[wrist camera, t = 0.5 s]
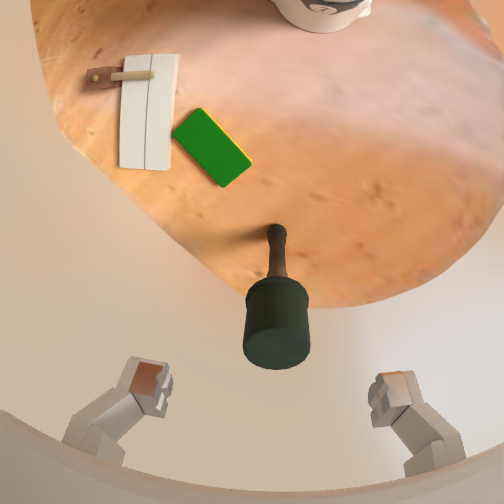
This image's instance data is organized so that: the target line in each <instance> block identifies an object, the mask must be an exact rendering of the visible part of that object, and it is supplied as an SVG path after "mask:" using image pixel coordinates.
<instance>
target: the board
mask: <svg viewBox="0 0 504 504" xmlns="http://www.w3.org/2000/svg"><path fill="white" fill-rule="evenodd" d="M179 57H180V54H177V53H168V54H147V55H133V56H125V62H124V71H123V72H129V71H145V70H153V71H154V79H132V80H123V82H122V95H121V113H120V167H121V168H136V169H149V170H161V171H167V170H169V169H170V160H171V141H172V126H173V113H174V101H175V91H176V82H177V73H178V65H179Z"/></svg>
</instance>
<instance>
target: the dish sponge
mask: <svg viewBox="0 0 504 504" xmlns="http://www.w3.org/2000/svg"><path fill="white" fill-rule="evenodd" d="M172 136H173V137H174V138H175V139H176V140H177V141H178V142H179V143H180V144H181V145H182V146H183V147H184V148H185V149H186V150H187V151H188V152H189V153H190V154H191V156H192V157H193V158H194V159H195V160H196V161H197V162H198V163H199V164H200V165H201V166H202V167H203V168H204V169H205V170H206V171H207V172H208V174H209V175H210V176H211V177H212V178H213V179H214V180H215V181H216V182H217V183H218V184H219V185H220V186H221V187H222V188H224V187H226V186H227V185H228V184H229V183H230V182H232V181H233V180H234V179H235V178H237V177H238V176H239V175H240V174H242V173H243V172H244V171H245V170H246V169H248V168H249V167H250V166H251V165H252V160H251V159H250V158H249V156H248V155H247V154H246V153H245V152H244V151H243V150H242V149H241V148H240V146H239V145H238V144H237V143H236V142H235V141H234V140H233V139H232V138H231V137H230V135H229V134H228V133H227V132H226V131H225V130H224V129H223V128H222V127H221V126H220V125H219V124H218V123H217V121H216V120H215V119H214V118H213V117H212V116H211V115H210V114H209V113H208V112H207V111H206V110H205V109H204V108H198V109H197V110H196V111H195V112H194V113H193V114H191V115H190V116H189V117H188V118H187V119H186V120H185V121H184V122H183V123H182V124H181V125H180V126H179V127H178V128H177V129H176V130H175V131H174V132H173V133H172Z"/></svg>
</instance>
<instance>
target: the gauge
mask: <svg viewBox="0 0 504 504" xmlns="http://www.w3.org/2000/svg"><path fill="white" fill-rule="evenodd" d="M132 79H154V71H153V70H145V71H129V72H122V67H111V66H109V67H101V68H93V69H87V76H86V90H88V89H98V88H110V87H121V80H132Z"/></svg>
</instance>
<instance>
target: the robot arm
mask: <svg viewBox="0 0 504 504" xmlns="http://www.w3.org/2000/svg"><path fill="white" fill-rule="evenodd" d="M271 1H272V2H274V4H275V5H276V6H277V8H278V9H279V11H280V13H281V14H282V15H283V16H284V17H285V18H286V19H287V20H288V21H289V22H291V23H292V24H294V25H295V26H297V27H299V28H301V29H304V30H307V31H311V32H316V33H331V32H336V31H339V30H341V29H343V28H345V27H347V26H348V25H349V24H350V23H352V22H353V21H354V20H356V19H361V18H365V17H367V16H368V15H369V14H370V3H371V1H372V0H271ZM168 370H169V366H168V363H165V362H159V361H154V360H148V359H144V358H139V357H133V356H131V357H130V358H129V359H128V361H127V363H126V365H125V368H124V370H123V372H122V374H121V377H120V379H119V382H118V384H117V386H116V388H112V389H110V390H109V391H107V392H106V393H104V394H103V395H102V396H100V397H99V398H97V399H96V400H94V401H93V402H92V403H90V404H89V405H87V406H86V407H84V408H83V409H81V410H80V411H79V412H77V413H76V414H74V415H73V416H72V418H71V420H70V422H69V425H68V427H67V429H66V432H65V434H64V437H63V439H62V441H61V442H60V441H58V440H56V439H54V438H52V437H50V436H48V435H46V434H44V433H42V432H40V431H38V430H36V429H35V428H33V427H31V426H29V425H28V424H26V423H24V422H23V421H21V420H19V419H17V418H16V417H14V416H13V415H11V414H10V413H8V412H6V411H4V410H0V504H504V442H503V443H501V444H499V445H497V446H495V447H493V448H490V449H488V450H486V451H484V452H481V453H479V454H477V455H474V456H472V457H470V458H467V459H466V455H465V451H464V447H463V443H462V440H461V436H460V433H459V432H458V431H457V430H456V429H455V428H454V427H452V426H451V425H450V424H449V423H448V422H447V421H446V420H445V419H444V418H443V417H442V416H441V415H440V414H439V413H438V412H437V411H435V410H434V409H433V408H432V407H431V406H430V405H429V404H428V403H424V401H423V398H422V395H421V391H420V388H419V385H418V382H417V379H416V376H415V374H414V372H413V371H411V370H409V371H397V372H389V373H379V374H378V375H377V376H376V378H375V379H376V382H374V383H373V384H371V386H370V388H369V392H368V403H369V406H371V408H372V409H373V411H372V412H371V419H372V426H373V428H374V427H384V426H391V428H392V429H393V430H394V431H395V433H396V434H397V435H398V436H399V438H400V439H401V440H402V442H403V443H404V444H405V445H406V447H407V448H408V449H409V450H410V452H411V453H412V454H413V455H414V456H413V457H412V458H410V459H409V460H408V461H406V462H405V464H404V470H405V478H403V479H398V480H394V481H389V482H384V483H379V484H373V485H367V486H361V487H353V488H346V489H336V490H325V491H307V492H264V491H263V492H262V491H247V490H234V489H225V488H216V487H210V486H203V485H196V484H191V483H186V482H181V481H175V480H171V479H166V478H162V477H158V476H154V475H150V474H147V473H143V472H139V471H136V470H133V469H129V468H126V467H123V466H122V463H123V459H124V455H125V451H124V449H122V448H121V447H120V446H119V445H118V444H117V443H116V441H117V440H119V439H120V438H121V437H122V436H123V435H124V434H125V433H126V432H127V431H128V430H129V429H131V428H132V427H133V426H134V425H135V424H136V423H137V422H138V421H139V420H140V419H141V418H142V417H143V416H144V414H145V415H151V416H155V417H160V418H164V417H165V413H166V409H167V406H168V404H167V401H166V399H167V398H168V397H169V396H170V395H171V391H172V386H173V379H172V375H171V374H170V373H169V372H168Z"/></svg>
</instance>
